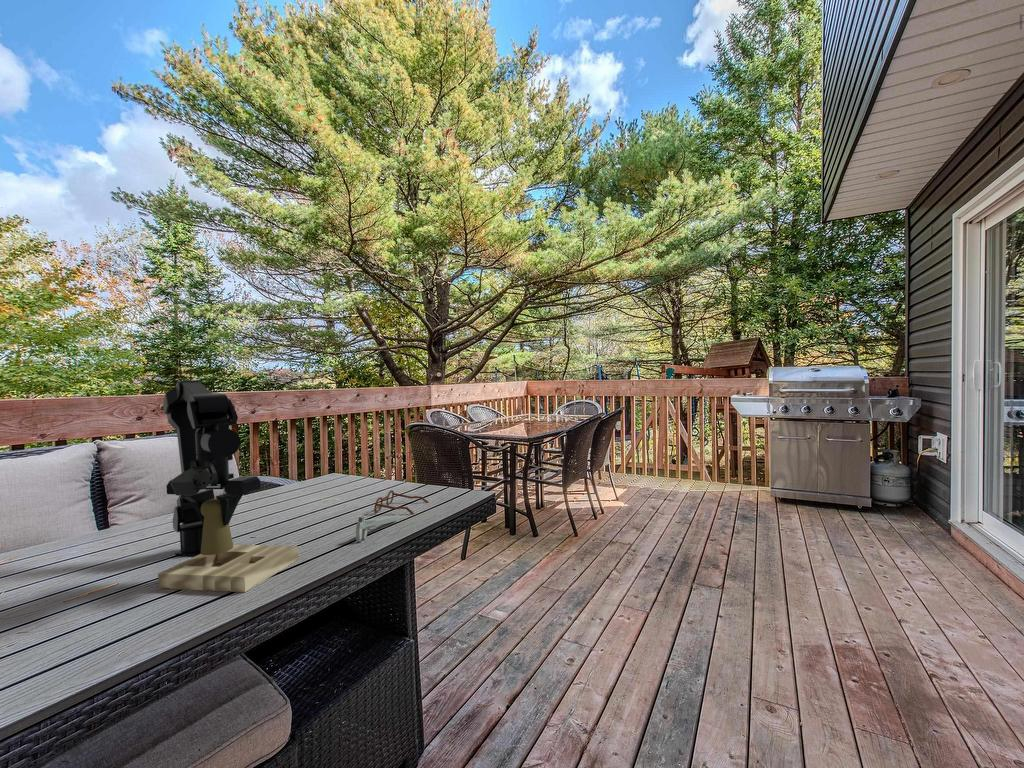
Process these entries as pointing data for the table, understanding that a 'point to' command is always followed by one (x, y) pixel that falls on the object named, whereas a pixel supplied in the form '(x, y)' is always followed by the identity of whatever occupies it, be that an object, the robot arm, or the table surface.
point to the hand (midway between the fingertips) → (216, 524)
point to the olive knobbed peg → (214, 529)
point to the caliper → (371, 525)
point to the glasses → (392, 500)
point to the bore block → (229, 569)
